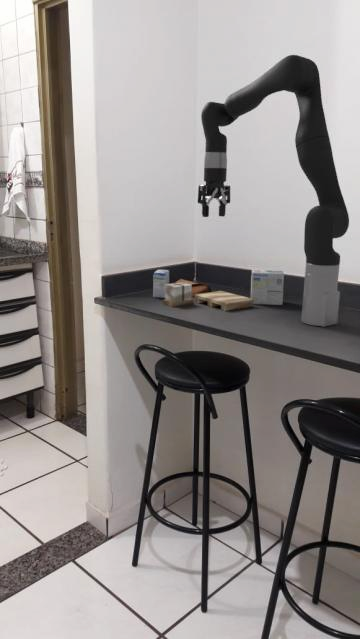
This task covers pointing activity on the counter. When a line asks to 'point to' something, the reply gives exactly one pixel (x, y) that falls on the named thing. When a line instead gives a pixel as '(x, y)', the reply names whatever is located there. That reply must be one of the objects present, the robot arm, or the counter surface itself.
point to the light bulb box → (267, 287)
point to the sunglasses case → (196, 287)
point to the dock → (224, 300)
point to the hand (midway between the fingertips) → (213, 216)
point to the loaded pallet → (178, 294)
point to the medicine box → (160, 282)
